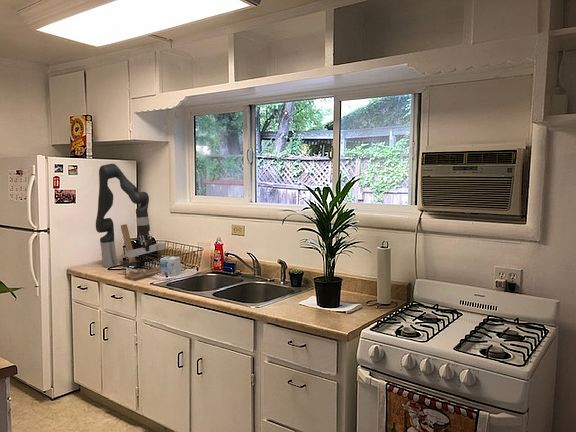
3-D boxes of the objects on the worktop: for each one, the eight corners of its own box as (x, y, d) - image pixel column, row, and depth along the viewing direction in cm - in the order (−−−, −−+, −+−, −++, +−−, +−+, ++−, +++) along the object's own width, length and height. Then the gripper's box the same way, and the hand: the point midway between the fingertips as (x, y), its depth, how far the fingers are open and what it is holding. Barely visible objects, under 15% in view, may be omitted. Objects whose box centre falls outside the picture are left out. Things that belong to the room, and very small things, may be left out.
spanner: (126, 256, 292) (125, 251, 292) (160, 248, 311) (160, 242, 311) (130, 257, 289) (130, 251, 289) (165, 248, 308) (164, 243, 308)
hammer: (121, 270, 326) (111, 227, 325) (127, 268, 330) (117, 226, 329) (139, 267, 315) (129, 223, 313) (145, 265, 319) (135, 222, 317)
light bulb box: (161, 275, 297) (159, 258, 295) (166, 272, 303) (165, 256, 302) (176, 276, 294) (174, 259, 292) (181, 273, 300) (180, 256, 298)
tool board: (124, 278, 296) (123, 271, 295) (161, 267, 316) (160, 261, 316) (135, 281, 288) (134, 273, 288) (172, 270, 309) (171, 263, 308)
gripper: (131, 224, 299) (134, 251, 302) (144, 225, 290) (147, 253, 293) (141, 222, 305) (144, 248, 307) (154, 223, 296) (157, 250, 298)
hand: (146, 250), depth 300 cm, fingers closed on spanner, 3 cm apart
